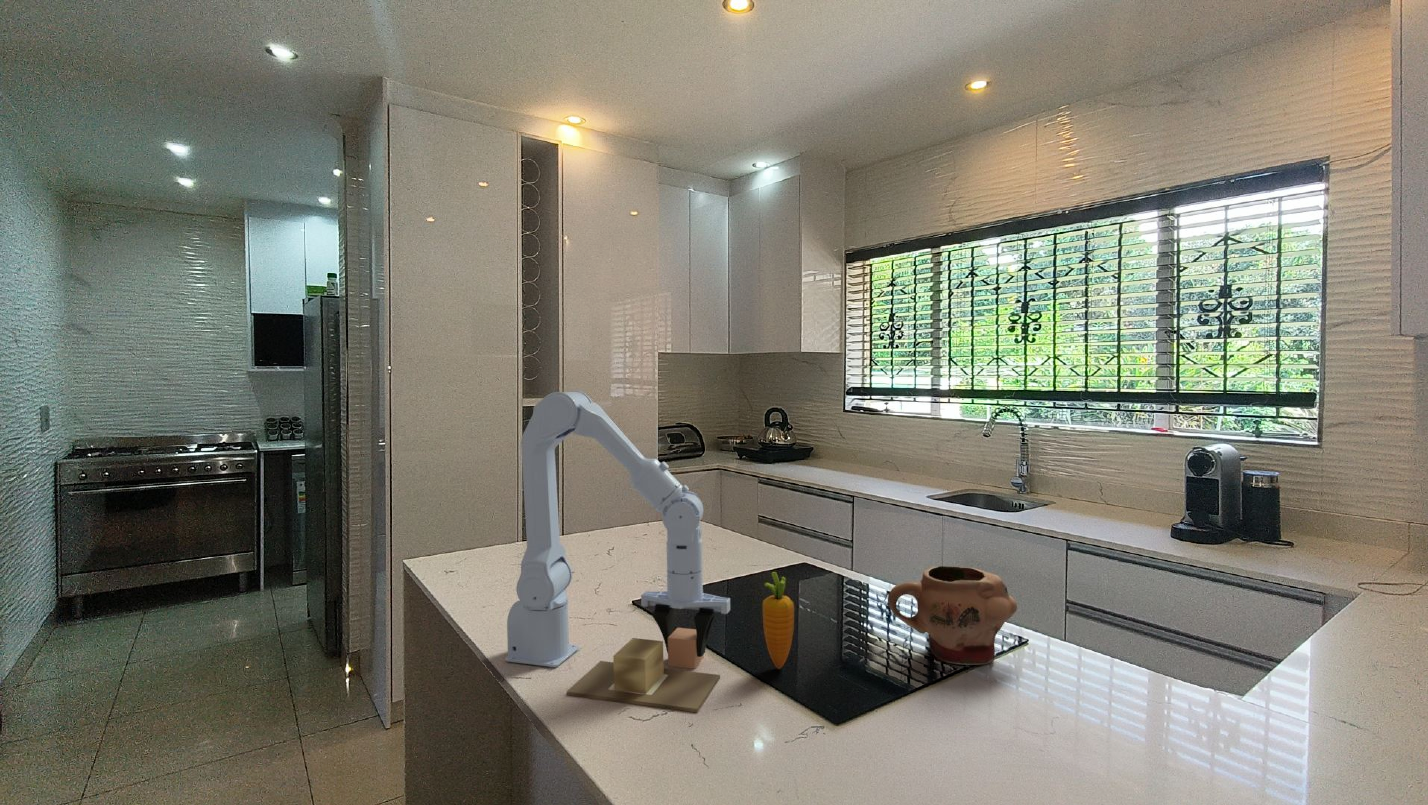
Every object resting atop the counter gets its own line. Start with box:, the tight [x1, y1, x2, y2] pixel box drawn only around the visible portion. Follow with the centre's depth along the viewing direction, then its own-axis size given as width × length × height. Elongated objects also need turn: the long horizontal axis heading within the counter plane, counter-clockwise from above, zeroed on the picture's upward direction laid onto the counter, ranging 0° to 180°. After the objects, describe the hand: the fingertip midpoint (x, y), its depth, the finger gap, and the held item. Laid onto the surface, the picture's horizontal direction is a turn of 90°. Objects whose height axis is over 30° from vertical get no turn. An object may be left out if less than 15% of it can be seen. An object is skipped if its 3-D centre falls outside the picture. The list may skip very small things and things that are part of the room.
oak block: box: [612, 637, 664, 694], centre depth 102 cm, size 5×7×5 cm
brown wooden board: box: [566, 660, 721, 714], centre depth 102 cm, size 20×11×1 cm, turn 73°
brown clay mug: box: [887, 565, 1018, 666], centre depth 111 cm, size 20×12×14 cm, turn 89°
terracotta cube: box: [667, 627, 705, 670], centre depth 110 cm, size 4×4×4 cm
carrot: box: [762, 571, 795, 670], centre depth 107 cm, size 5×5×15 cm
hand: (686, 652), depth 110 cm, fingers closed on terracotta cube, 4 cm apart
